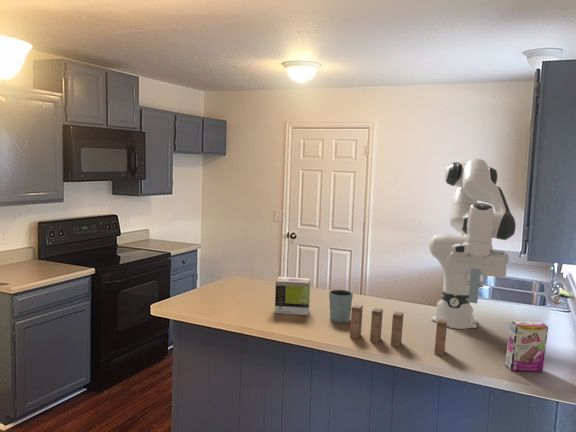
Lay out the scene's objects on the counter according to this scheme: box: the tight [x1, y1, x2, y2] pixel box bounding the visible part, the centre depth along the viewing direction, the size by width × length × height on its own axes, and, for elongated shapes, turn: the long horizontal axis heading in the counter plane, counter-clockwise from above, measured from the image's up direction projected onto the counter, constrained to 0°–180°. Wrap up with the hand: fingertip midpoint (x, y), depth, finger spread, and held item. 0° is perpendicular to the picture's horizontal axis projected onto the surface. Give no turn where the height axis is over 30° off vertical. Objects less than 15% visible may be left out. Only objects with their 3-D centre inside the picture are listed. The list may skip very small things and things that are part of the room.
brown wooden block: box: [434, 318, 448, 356], centre depth 179 cm, size 5×3×12 cm, turn 156°
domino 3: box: [390, 310, 405, 348], centre depth 185 cm, size 5×3×12 cm, turn 156°
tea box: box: [274, 276, 311, 316], centre depth 219 cm, size 15×10×15 cm, turn 84°
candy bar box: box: [504, 320, 549, 373], centre depth 167 cm, size 11×5×16 cm, turn 92°
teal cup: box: [328, 289, 354, 324], centre depth 211 cm, size 10×10×12 cm
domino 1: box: [349, 303, 364, 339], centre depth 192 cm, size 5×3×12 cm, turn 156°
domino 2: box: [369, 307, 384, 344], centre depth 189 cm, size 5×3×12 cm, turn 156°
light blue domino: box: [468, 269, 481, 304], centre depth 178 cm, size 5×3×12 cm, turn 156°
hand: (474, 286), depth 178 cm, fingers closed on light blue domino, 3 cm apart
